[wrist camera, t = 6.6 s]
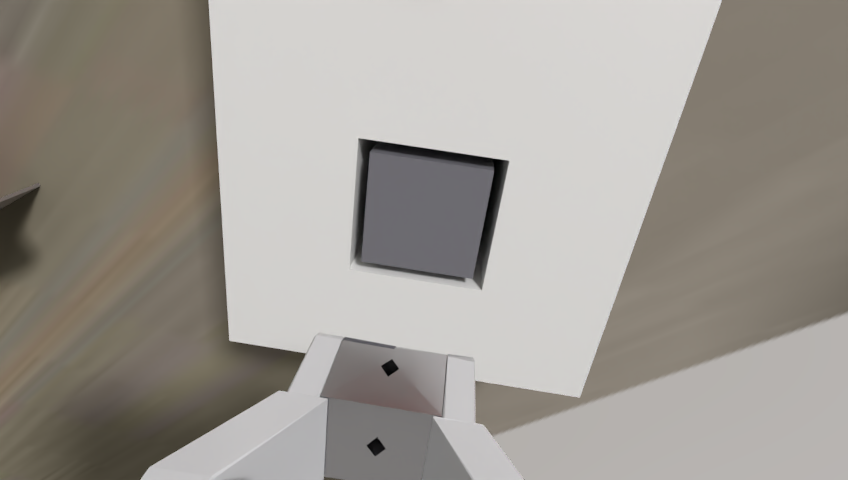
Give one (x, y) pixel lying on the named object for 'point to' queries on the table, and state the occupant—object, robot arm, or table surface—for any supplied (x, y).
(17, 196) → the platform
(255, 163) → the block
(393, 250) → the gray rectangular block
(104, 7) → the table surface
